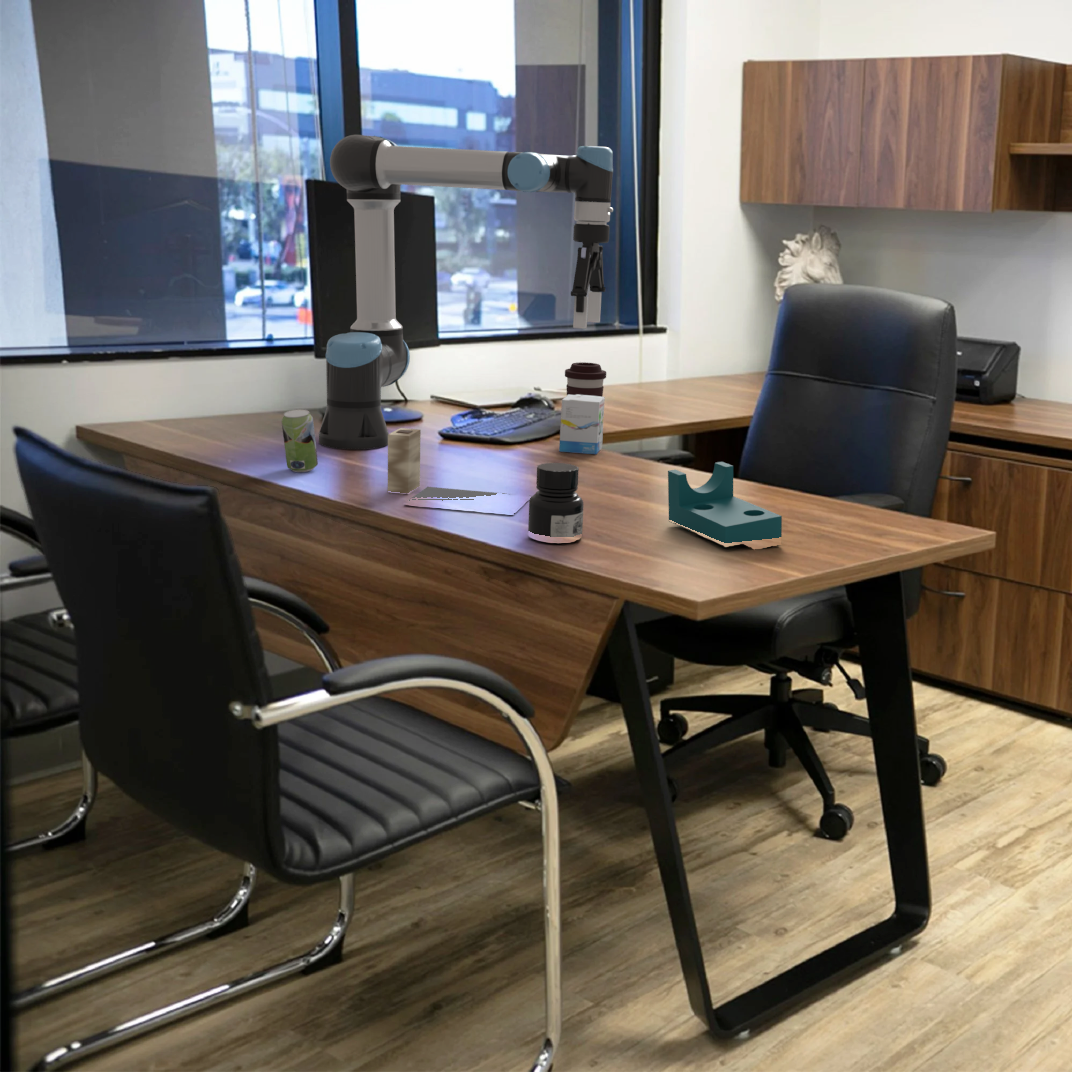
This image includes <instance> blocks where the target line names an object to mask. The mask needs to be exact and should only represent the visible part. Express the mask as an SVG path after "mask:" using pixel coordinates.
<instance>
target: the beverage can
mask: <svg viewBox="0 0 1072 1072" xmlns="http://www.w3.org/2000/svg"><path fill="white" fill-rule="evenodd" d="M281 429H282V435H283V444H284V452H285V453H284V454H285V461H286V467H287V468H288V469H289V470H290V471H292V472H295V473H305V472H306V473H308V472H311V471H313V470H314V469H315V468H316V467H317V466H318V464H319V461H318V451H317V442H316V434H315V433H316V432H315V425H314V417H313V415H311V413H310V411H309V410H307V409H300V408H299V409H297V408H296V409H291V410H290V409H289V410H288V411H285V412H283V417H282V419H281Z"/></svg>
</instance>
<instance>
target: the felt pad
mask: <svg viewBox="0 0 1072 1072" xmlns="http://www.w3.org/2000/svg"><path fill="white" fill-rule="evenodd" d="M497 493H498V492H493V491H480V490H468V489H459V488H449V487H448V488H447V487H435V486H427V487H425V488H423V489H422V490H420V491H419V492H418V493H417V494H415V495H413V496H412V497H411V498H415V497H417V498H421V497H423V498H427V497H431V498H433V497H437V498H440V497H442V498H448V497H449V498H456V497H459V498H463V497H466V498H469V497H476V496H484V495H486V496H491V495H496V494H497ZM501 493H502V494H506V493H505V492H504V493H503V492H501ZM411 498H410V499H411ZM449 498H448V499H418V500H442V501H443V500H452V499H449ZM410 499H408V500H409V501H410ZM412 500H416V499H412ZM453 500H458V499H453ZM460 500H474V499H460Z"/></svg>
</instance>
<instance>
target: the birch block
mask: <svg viewBox="0 0 1072 1072" xmlns="http://www.w3.org/2000/svg"><path fill="white" fill-rule="evenodd" d="M421 435H422V434H421V429H417V428H416V429H415V428H414V429H413V428H403V427H400V428H398V429H396V430H394V431H391V432H390V433H389V434H388V445H387V492H388V491H391V492H400V493H409V492H410V491H412V490H414V489H416V488H417V487H419V486H420V487H421V483H420V482H421ZM420 487H419V488H420ZM416 490H417V489H416Z"/></svg>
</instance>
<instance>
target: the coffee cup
mask: <svg viewBox="0 0 1072 1072" xmlns="http://www.w3.org/2000/svg"><path fill="white" fill-rule="evenodd" d="M569 367H570V368H566V369H565V370H564V376H565V378H567V379H566V381H567V382H566V383H567V384H566V396H567V395H568V394H569V395H576V394H579V395H590V396H601V397H604V396H603V395H604V394H603V393H604V380H605V379H606V378H607V371H606V370H603V369H602V367H601V365H600V364H599V363H596V362H595V363H594V362H585V361H584V362H581V361H580V362H573V363H572V364H571V365H570V366H569Z"/></svg>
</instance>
